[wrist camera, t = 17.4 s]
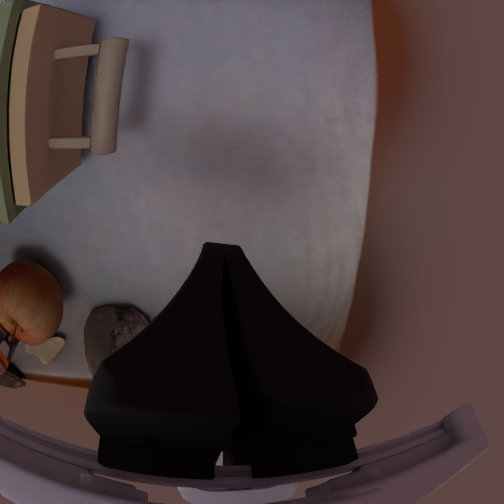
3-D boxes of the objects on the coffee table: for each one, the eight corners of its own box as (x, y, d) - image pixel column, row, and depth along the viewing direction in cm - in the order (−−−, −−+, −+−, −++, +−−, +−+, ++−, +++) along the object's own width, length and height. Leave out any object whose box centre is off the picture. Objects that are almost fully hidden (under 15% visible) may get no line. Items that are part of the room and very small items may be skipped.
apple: (85, 306, 25) (62, 370, 18) (33, 306, 24) (7, 360, 18) (56, 241, 20) (14, 304, 14) (3, 248, 20) (-36, 301, 13)
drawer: (156, 16, 12) (121, -14, 6) (135, 166, 17) (98, 211, 12) (-23, 53, 8) (-78, 65, 3) (-25, 166, 14) (-73, 202, 8)
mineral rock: (173, 378, 33) (170, 447, 25) (95, 360, 30) (80, 427, 22) (193, 317, 27) (190, 410, 19) (90, 291, 24) (57, 378, 16)
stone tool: (47, 363, 30) (78, 346, 28) (46, 368, 30) (76, 352, 28) (22, 345, 28) (48, 324, 26) (21, 349, 27) (46, 329, 25)
